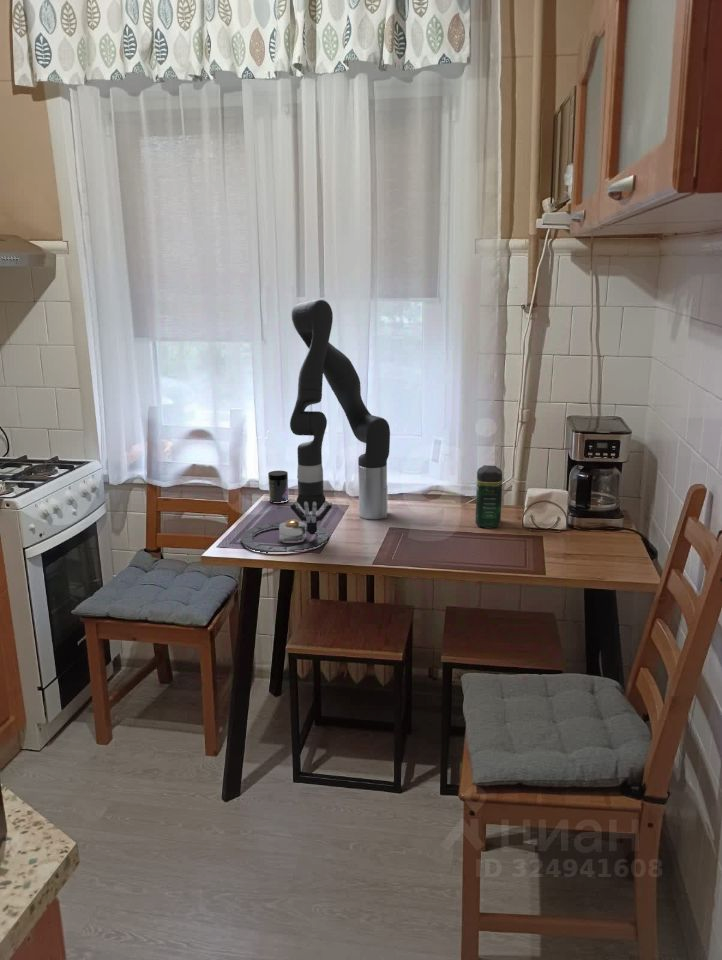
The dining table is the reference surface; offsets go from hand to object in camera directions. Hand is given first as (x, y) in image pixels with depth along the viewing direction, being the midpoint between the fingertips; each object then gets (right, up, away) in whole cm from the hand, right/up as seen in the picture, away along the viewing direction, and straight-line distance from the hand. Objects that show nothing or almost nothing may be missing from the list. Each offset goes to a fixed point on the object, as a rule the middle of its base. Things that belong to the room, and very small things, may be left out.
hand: (312, 533), depth 238 cm
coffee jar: (+55, +2, +12) cm, 56 cm away
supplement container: (-14, +8, +39) cm, 42 cm away
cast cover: (-6, -2, +1) cm, 6 cm away
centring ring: (-8, -2, +1) cm, 9 cm away
